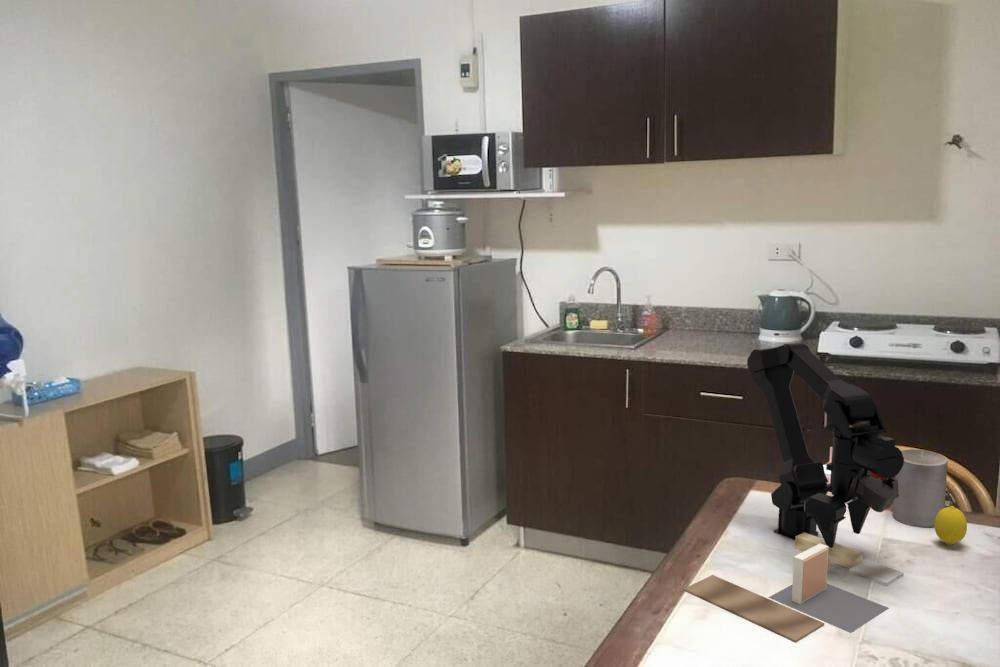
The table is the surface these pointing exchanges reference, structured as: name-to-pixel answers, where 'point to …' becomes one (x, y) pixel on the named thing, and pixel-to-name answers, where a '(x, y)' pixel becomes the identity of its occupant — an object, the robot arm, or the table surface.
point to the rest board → (755, 608)
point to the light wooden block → (851, 560)
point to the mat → (834, 607)
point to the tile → (810, 573)
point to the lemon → (950, 525)
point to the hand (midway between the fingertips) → (843, 540)
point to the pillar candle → (920, 488)
